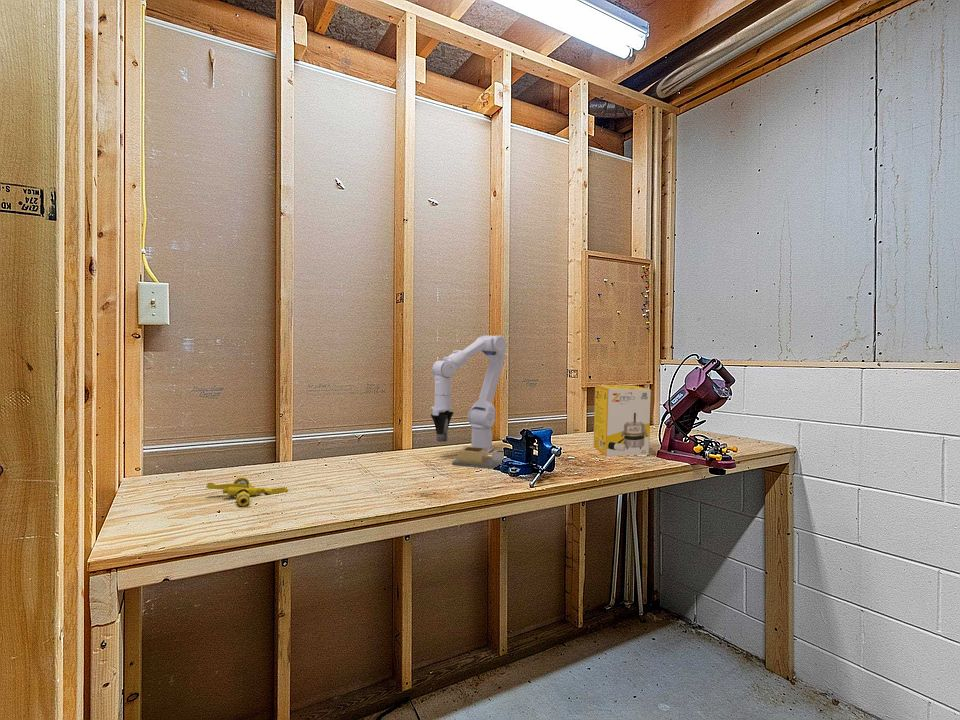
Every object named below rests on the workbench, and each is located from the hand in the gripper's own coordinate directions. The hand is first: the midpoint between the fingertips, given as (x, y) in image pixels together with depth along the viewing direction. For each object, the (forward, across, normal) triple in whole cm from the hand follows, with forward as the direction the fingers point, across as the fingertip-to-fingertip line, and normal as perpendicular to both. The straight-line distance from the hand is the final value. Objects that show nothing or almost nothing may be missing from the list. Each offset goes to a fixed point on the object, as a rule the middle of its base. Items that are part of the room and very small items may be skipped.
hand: (442, 433), depth 177 cm
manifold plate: (+9, +3, +16) cm, 18 cm away
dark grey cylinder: (+3, 0, 0) cm, 3 cm away
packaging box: (+9, -34, +61) cm, 70 cm away
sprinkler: (+9, +59, -31) cm, 67 cm away
